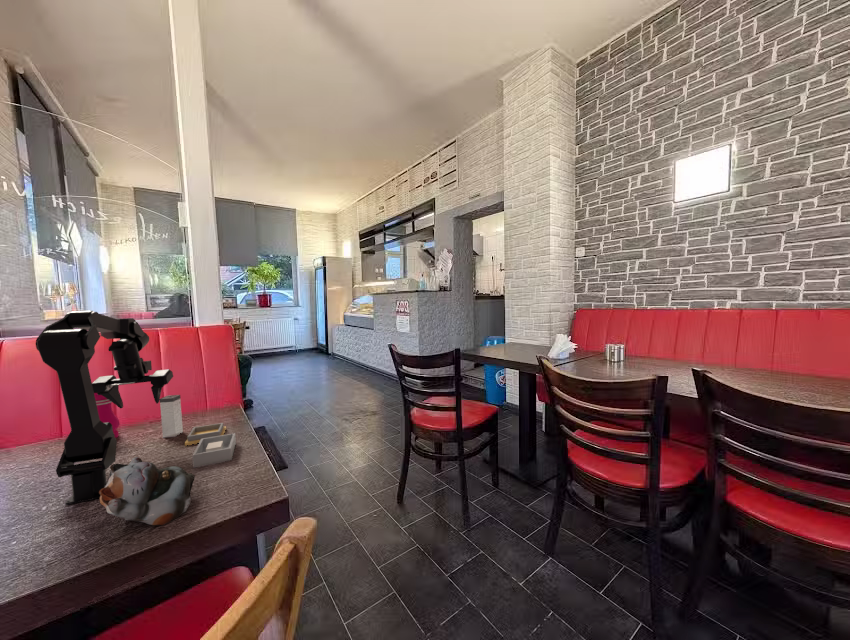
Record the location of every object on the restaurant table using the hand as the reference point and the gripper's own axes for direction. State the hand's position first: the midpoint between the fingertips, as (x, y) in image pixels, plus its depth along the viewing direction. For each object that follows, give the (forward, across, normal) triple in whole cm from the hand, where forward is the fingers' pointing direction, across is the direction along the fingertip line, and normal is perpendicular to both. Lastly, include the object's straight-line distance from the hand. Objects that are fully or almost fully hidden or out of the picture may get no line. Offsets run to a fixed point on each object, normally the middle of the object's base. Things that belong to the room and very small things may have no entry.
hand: (140, 405), depth 104 cm
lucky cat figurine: (+3, -18, +45) cm, 48 cm away
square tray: (+13, -17, +3) cm, 22 cm away
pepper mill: (+16, +16, -9) cm, 24 cm away
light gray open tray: (+10, -23, +19) cm, 31 cm away
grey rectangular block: (+15, -5, -4) cm, 16 cm away
